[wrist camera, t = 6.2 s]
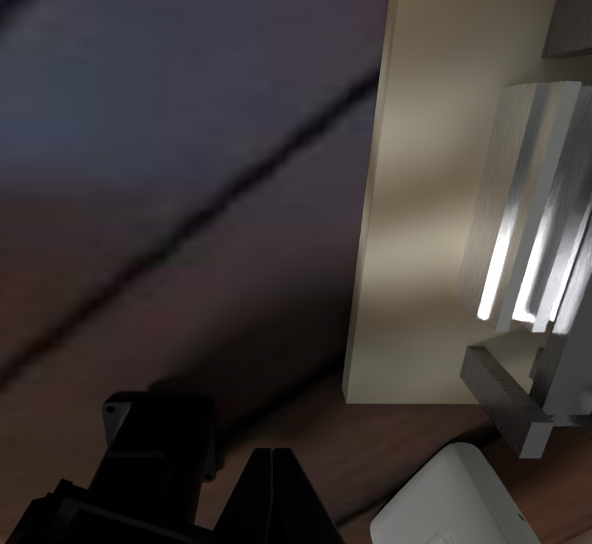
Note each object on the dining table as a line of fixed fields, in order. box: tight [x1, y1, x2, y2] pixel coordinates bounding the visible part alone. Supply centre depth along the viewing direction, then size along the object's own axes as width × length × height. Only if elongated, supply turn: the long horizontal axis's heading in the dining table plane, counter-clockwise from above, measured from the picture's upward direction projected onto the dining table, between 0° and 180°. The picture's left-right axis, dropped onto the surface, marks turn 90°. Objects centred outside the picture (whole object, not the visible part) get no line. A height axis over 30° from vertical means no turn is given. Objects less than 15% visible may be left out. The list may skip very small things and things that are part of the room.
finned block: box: [454, 81, 592, 332], centre depth 17 cm, size 10×8×4 cm
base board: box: [342, 0, 592, 404], centre depth 20 cm, size 24×18×2 cm
